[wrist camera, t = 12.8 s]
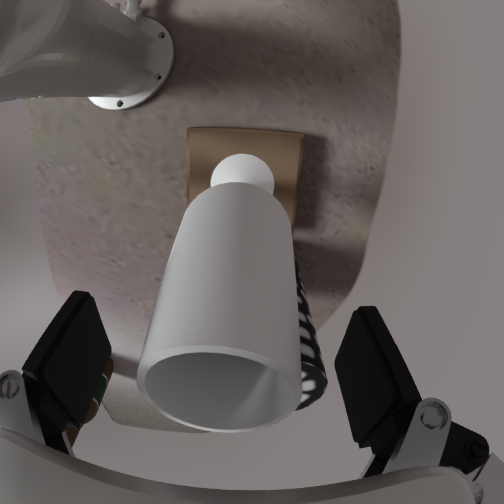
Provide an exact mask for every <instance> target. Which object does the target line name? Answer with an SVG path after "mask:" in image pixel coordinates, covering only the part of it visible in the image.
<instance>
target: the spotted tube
mask: <svg viewBox="0 0 504 504" xmlns="http://www.w3.org/2000/svg"><path fill="white" fill-rule="evenodd" d="M294 264H295V276H296V288H297V302H298V317H299V333H300V352H301V375H302V398H301V401H300V404H299V405H298V407H297V408H296V410H295V411H297V410H300V409H303V408H305V407H307V406H309V405H311V404H312V403H314V402H315V401H317V400H318V399H319V398H320V397H321V396H322V395H323V394H324V392H325V390H326V388H327V383H328V381H327V377H326V373H325V368H324V364H323V360H322V357H321V352H320V348H319V344H318V340H317V336H316V332H315V328H314V324H313V321H312V317H311V313H310V309H309V306H308V302H307V298H306V295H305V291H304V287H303V284H302V280H301V277H300V273H299V269H298V266H297V262H296V259H295V256H294Z"/></svg>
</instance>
